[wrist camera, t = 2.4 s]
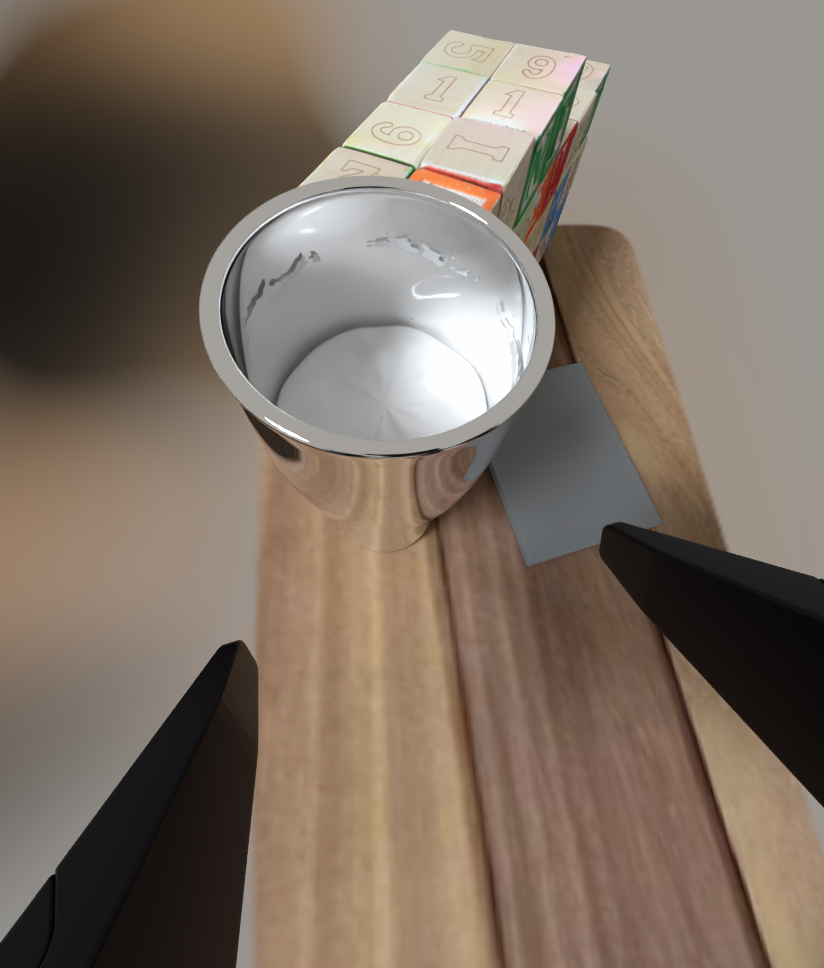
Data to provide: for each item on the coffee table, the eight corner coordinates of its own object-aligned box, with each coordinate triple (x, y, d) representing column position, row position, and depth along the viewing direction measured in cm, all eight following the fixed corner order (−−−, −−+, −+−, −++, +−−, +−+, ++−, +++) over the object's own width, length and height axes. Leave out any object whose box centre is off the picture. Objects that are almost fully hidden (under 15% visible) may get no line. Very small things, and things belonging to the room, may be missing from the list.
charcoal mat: (655, 525, 21) (663, 523, 21) (526, 566, 20) (530, 565, 19) (576, 367, 25) (581, 362, 24) (460, 392, 23) (462, 387, 23)
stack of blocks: (483, 213, 29) (526, -52, 17) (554, 235, 28) (651, -33, 16) (353, 407, 22) (283, 187, 11) (439, 446, 21) (464, 247, 10)
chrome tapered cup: (464, 508, 21) (640, 323, 7) (376, 586, 19) (351, 566, 5) (391, 428, 22) (404, 127, 8) (301, 494, 20) (106, 260, 6)
